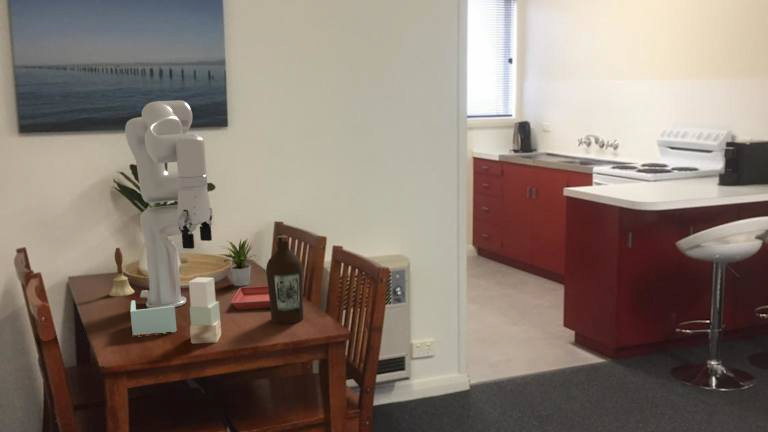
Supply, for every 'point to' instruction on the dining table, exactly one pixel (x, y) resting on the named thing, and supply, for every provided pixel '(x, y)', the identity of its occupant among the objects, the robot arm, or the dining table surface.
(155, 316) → the l-shaped corner panel
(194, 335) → the oak base block
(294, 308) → the olive oil
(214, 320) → the sage block
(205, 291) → the cream block
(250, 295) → the plant saucer
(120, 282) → the hand bell
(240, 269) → the house plant
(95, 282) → the dining table surface
